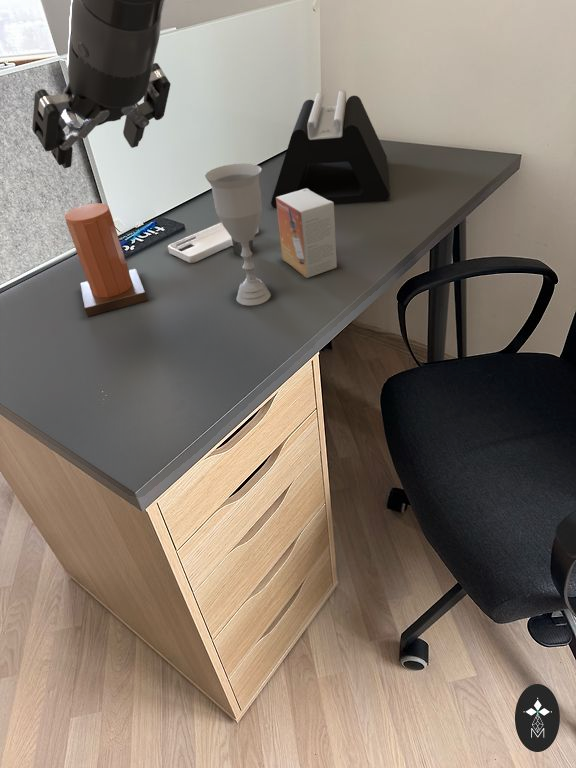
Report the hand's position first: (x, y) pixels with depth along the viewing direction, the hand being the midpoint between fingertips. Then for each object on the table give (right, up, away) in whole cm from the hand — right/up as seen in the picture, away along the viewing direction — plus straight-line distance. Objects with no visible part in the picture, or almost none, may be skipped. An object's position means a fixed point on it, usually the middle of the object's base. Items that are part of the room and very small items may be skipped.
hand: (97, 150), depth 66 cm
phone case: (+9, -2, +34) cm, 36 cm away
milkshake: (+15, -5, +30) cm, 33 cm away
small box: (+26, -8, +24) cm, 36 cm away
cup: (-5, -12, +22) cm, 25 cm away
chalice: (+17, -14, +18) cm, 28 cm away
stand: (-5, -13, +22) cm, 27 cm away
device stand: (+31, +14, +51) cm, 62 cm away
